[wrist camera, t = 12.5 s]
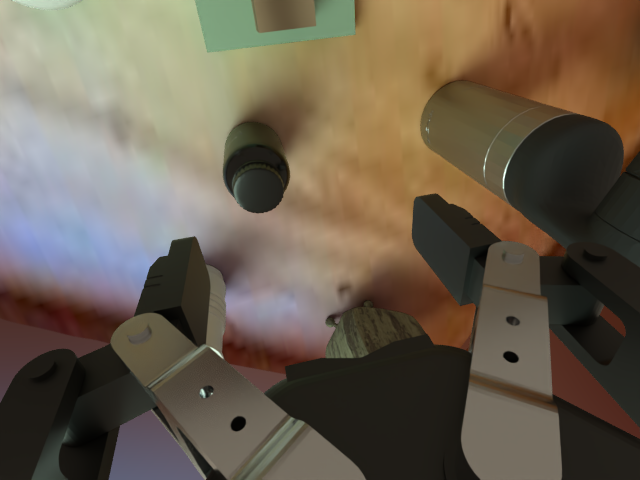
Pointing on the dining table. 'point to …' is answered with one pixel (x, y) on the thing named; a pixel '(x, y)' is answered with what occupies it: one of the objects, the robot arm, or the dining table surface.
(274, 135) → the supplement bottle
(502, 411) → the robot arm
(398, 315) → the tabletop clock
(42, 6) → the flower in vase
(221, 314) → the candle
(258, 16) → the wooden channel cradle
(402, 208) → the dining table surface
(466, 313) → the dining table surface
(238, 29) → the green
